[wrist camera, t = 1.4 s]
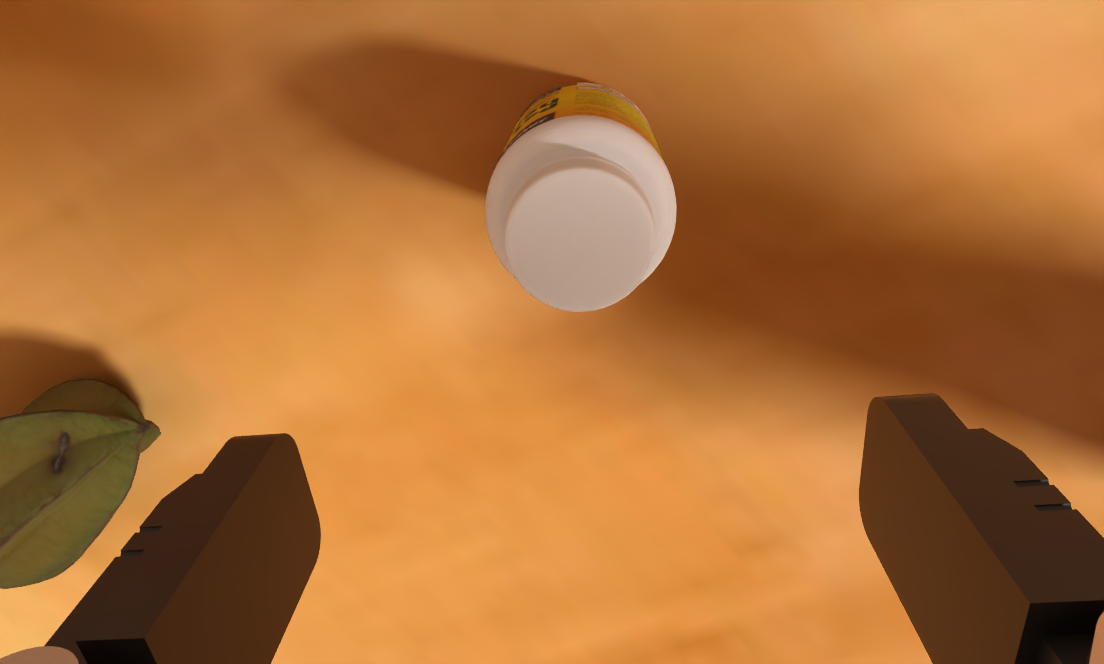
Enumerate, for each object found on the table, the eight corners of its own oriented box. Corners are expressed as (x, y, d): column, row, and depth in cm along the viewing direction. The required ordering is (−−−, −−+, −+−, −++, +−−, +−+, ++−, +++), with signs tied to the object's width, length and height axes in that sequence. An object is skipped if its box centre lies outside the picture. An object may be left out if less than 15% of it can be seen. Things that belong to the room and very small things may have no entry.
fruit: (-71, 331, 32) (-219, 410, 26) (195, 360, 32) (109, 445, 27) (-10, 527, 37) (-122, 631, 31) (221, 552, 38) (153, 660, 32)
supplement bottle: (554, 50, 26) (538, 88, 17) (682, 129, 27) (733, 205, 18) (483, 181, 28) (436, 279, 19) (604, 249, 29) (614, 373, 20)
